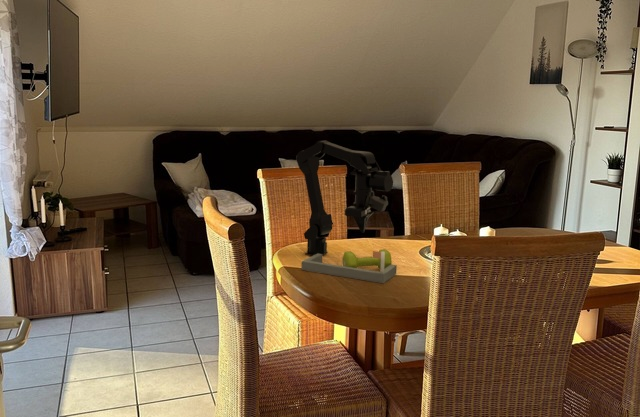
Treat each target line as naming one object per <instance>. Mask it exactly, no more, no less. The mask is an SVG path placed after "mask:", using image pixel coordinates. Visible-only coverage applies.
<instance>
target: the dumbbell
mask: <svg viewBox="0 0 640 417" xmlns="http://www.w3.org/2000/svg"><path fill="white" fill-rule="evenodd" d="M378 252H385V262H384V269H385V268H387V267H388V266H389V265H391V264H392V263H393V261H392V254H391V252H390V251H389V250H387V249H379V250H378ZM341 262H342V263H341V264H342V266H346V267H352V268H359V267H373V266H375V267H377V268H378V270H380V269H381V259H378V258H373V256H364V257H363V256H362V257H357V255H356V254H355V253H354V252H353V251H351V250H350V251H344V253H343V256H342V261H341ZM392 265H393V264H392Z"/></svg>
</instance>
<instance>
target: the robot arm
mask: <svg viewBox="0 0 640 417" xmlns="http://www.w3.org/2000/svg"><path fill="white" fill-rule="evenodd" d="M325 155H328V156H331V157H334V158H337V159H340V160H342V161H345V162H347V163H348V164H349V166H351V167H353V168H354V169H353V170H352V171H351V172H350V175H351V176H355V182H354V183H355V187H354V189H355V190H353V192H352V194H353V195H354V197H355V198H354V202H353V203H352V205H350V206H348V207H346V208H345V209H344V216H346V217H353V219H354V220H355V223H356V225H357V227H358V229H359V231H360V233H365V230H366V228H367V224H368V221H369V218H370V217H371V216H372V215H373V214H375V212H374V211H371V210H372V209H375V210H376V211H377V212H379V213H382V212H385V210H386V208H387V206H388V205H389V201H388V196H386V195H385V194H384V195H381V196H380V197H379V196H376V195H375V192H374V191H379V192H380V191H381V192H390V191H391V190H392V188H393V185H394V180H393V176H392V175H391V171H389V170H387V171H386V170H385V171H383V170H382V169H381V167H380V166H379V163H378V162H377V160H376V156H375V154H374V153H373V152H371V151H364V150H353V149H351V148H347V147H343V146H341V145H338V144H336V143H332V142H330V141H328V140H318V141H317V142H316V143H314V144H313V145H311V146H309V147H307V148H305V149H304V150H300V151H299V152H297V155H296V158H295V160H296V163H297V166H298V169H299V170H300V172H301V173H302V174H303V176H304V180H305V186H306V192H307V196H308V202H309V206H310V212H311V213H310V216H309V220H308V221H309V222H308V223H309V228H307V229H306V230H305V231H304V233H303V238H304V239H305V240H307V245H306V247H307V248H306V250H307V251H306V252H305V255H307V256H313V255H315V254H317V253H318V254H323V256H324V255H326V254H328V242H327V238H329V236H330V233H331V231H332V230H333V225H334V223H333V218H332V217H333V216H332V213H329V214H328V212H327V211H326V210H325V206H324V201H323V196H322V189H321V186H320V185H321V184H320V179H319V176H318V175H319V174H318V173H319V172H318V171H319V167H320V164H321V163H320V160H321V158H323V157H324V156H325Z"/></svg>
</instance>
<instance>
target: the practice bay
mask: <svg viewBox="0 0 640 417" xmlns="http://www.w3.org/2000/svg"><path fill="white" fill-rule="evenodd" d="M323 256H324V255H323V254H318V253H317V254H315V255H310V257H308V258H306V259H304V260H302V261H301V271H307V272H312V273H319V274H324V275H331V276H338V277H342V278H347V279H348V278H349V279H355V280H362V281H367V282H374V283H380V284H385V283H387V282H388V281H389V280H390V279H391V278H393V277H394V276H396V274H397V271H398V270H397V264H391V265H389V266H388V267H387V268H385V269H384V262H385V252H379V250H377V251H376V250H372V257H373V258H378V259H381V269H379V270H380V271H377V270H371V269H364V268H359V267H357V268H352V267H346V266H343V265H338V264H332V263H325V262H323Z"/></svg>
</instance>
